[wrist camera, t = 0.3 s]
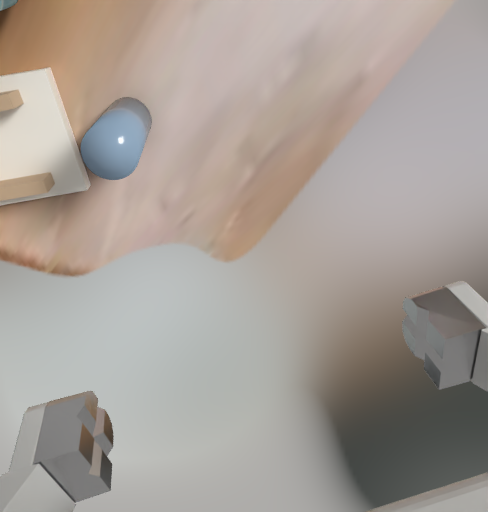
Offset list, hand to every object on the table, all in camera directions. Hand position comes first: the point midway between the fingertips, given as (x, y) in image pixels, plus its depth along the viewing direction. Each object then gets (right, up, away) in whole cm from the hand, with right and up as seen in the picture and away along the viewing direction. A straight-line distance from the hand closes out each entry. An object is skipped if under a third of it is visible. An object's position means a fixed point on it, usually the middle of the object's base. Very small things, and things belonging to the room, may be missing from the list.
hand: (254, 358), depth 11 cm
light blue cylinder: (-14, +19, +40) cm, 47 cm away
